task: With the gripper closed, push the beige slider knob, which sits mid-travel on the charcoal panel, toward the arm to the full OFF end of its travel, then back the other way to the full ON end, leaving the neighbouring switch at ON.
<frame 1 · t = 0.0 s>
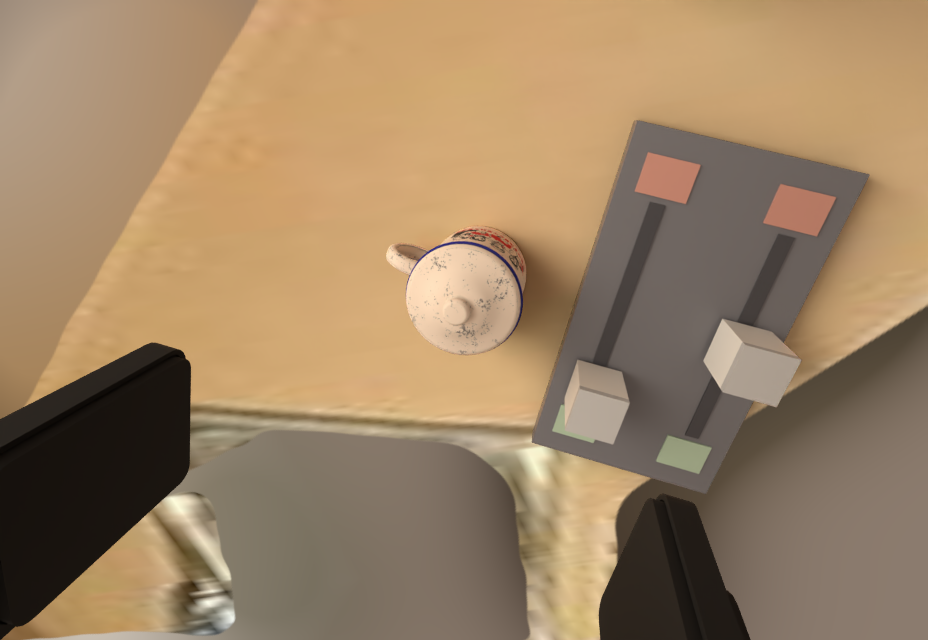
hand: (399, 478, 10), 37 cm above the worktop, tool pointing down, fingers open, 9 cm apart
panel: (670, 320, 45), on the worktop
teacup with lid: (465, 264, 47), on the worktop
on switch: (594, 400, 43), point 5 cm above the worktop, slide at 7.0 cm
beige slider knob: (748, 360, 40), point 5 cm above the worktop, slide at 0.0 cm
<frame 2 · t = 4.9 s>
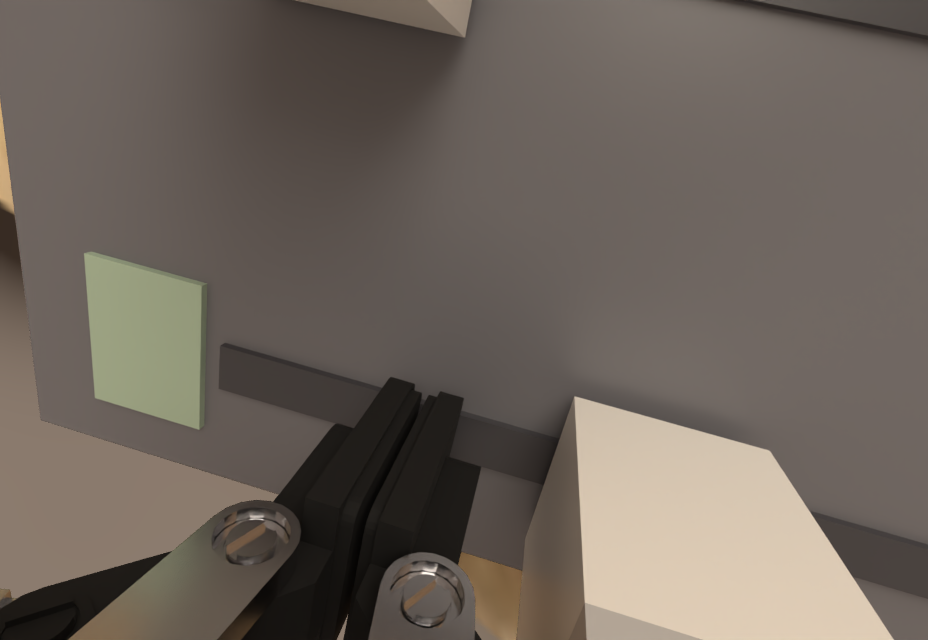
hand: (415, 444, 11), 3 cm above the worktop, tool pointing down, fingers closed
panel: (666, 248, 12), on the worktop
beige slider knob: (660, 609, 8), point 5 cm above the worktop, slide at -0.7 cm, touching gripper
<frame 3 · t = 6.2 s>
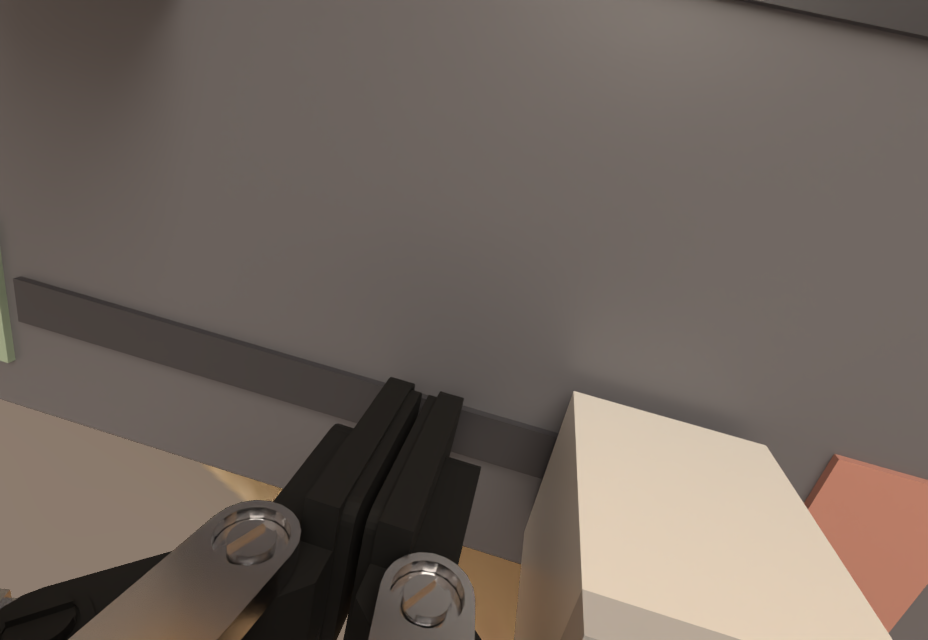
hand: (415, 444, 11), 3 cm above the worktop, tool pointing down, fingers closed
panel: (429, 185, 12), on the worktop
beige slider knob: (657, 600, 9), point 5 cm above the worktop, slide at -6.4 cm, touching gripper
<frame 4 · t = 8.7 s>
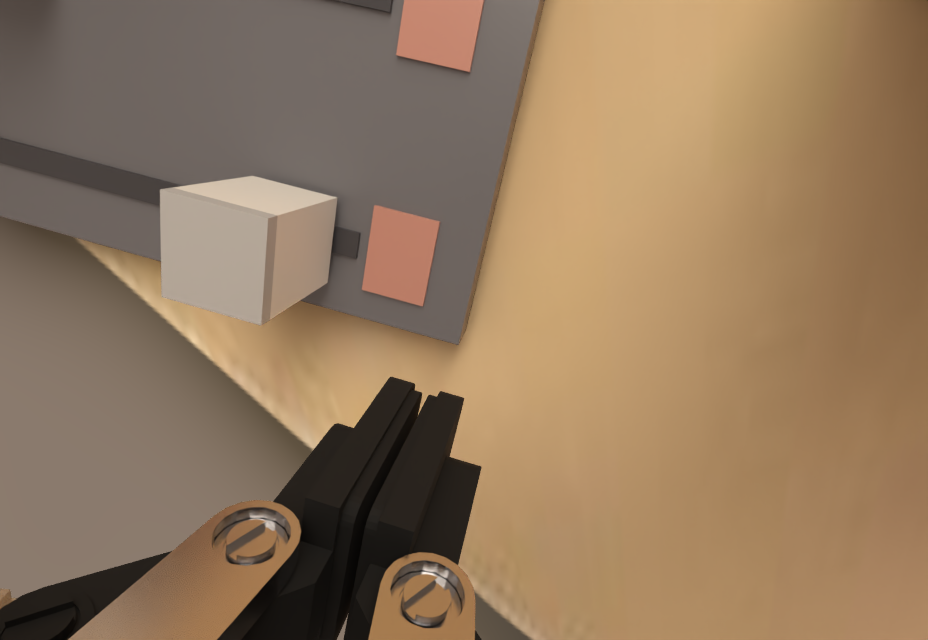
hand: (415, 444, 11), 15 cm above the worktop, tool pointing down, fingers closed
panel: (200, 85, 24), on the worktop
beige slider knob: (256, 243, 20), point 5 cm above the worktop, slide at -6.4 cm
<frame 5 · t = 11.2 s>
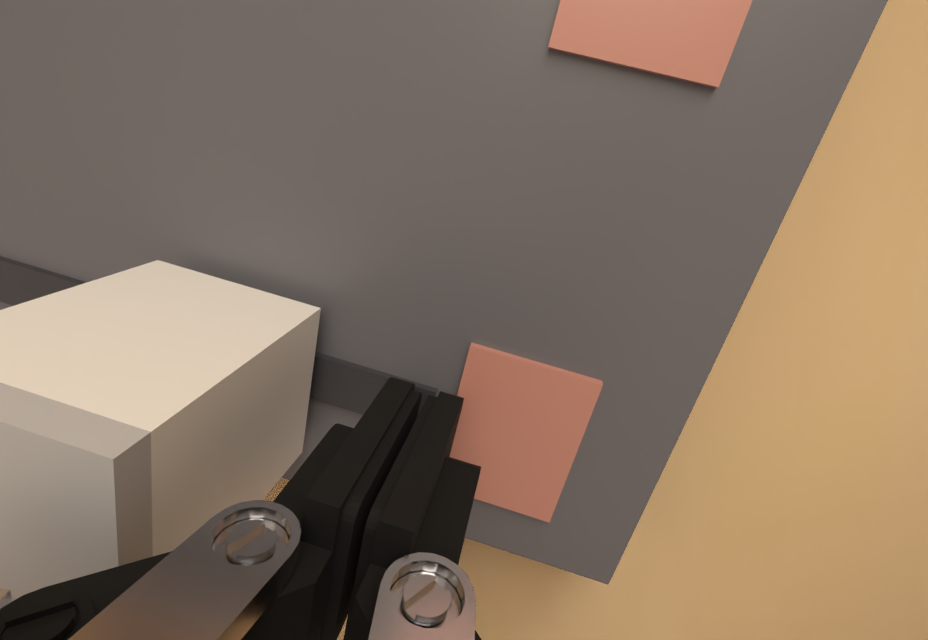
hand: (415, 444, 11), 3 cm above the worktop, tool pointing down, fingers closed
panel: (137, 99, 13), on the worktop
beige slider knob: (144, 422, 10), point 5 cm above the worktop, slide at -4.6 cm, touching gripper
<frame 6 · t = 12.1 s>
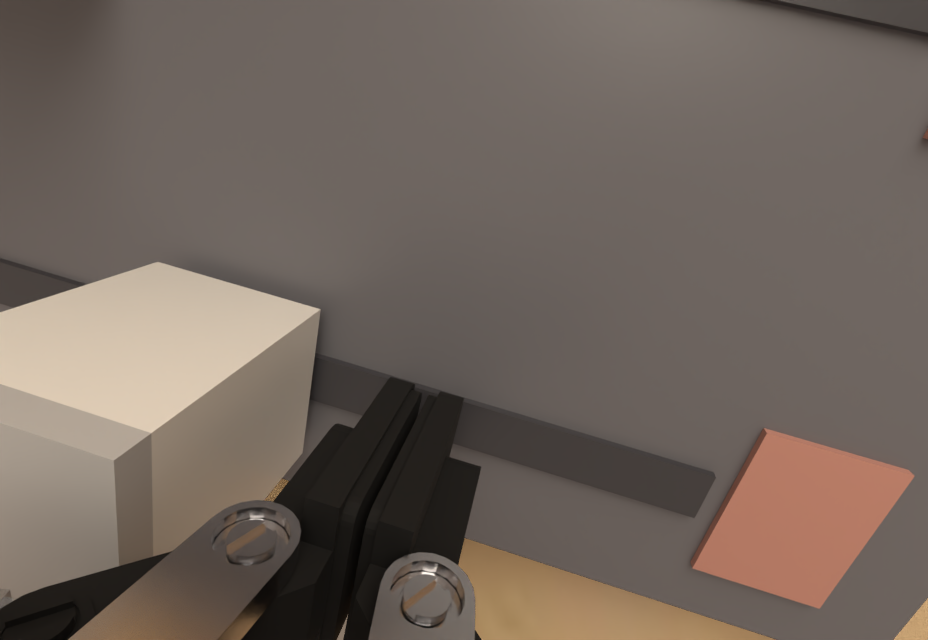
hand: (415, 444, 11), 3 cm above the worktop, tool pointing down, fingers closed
panel: (377, 164, 12), on the worktop
beige slider knob: (144, 424, 10), point 5 cm above the worktop, slide at 1.9 cm, touching gripper
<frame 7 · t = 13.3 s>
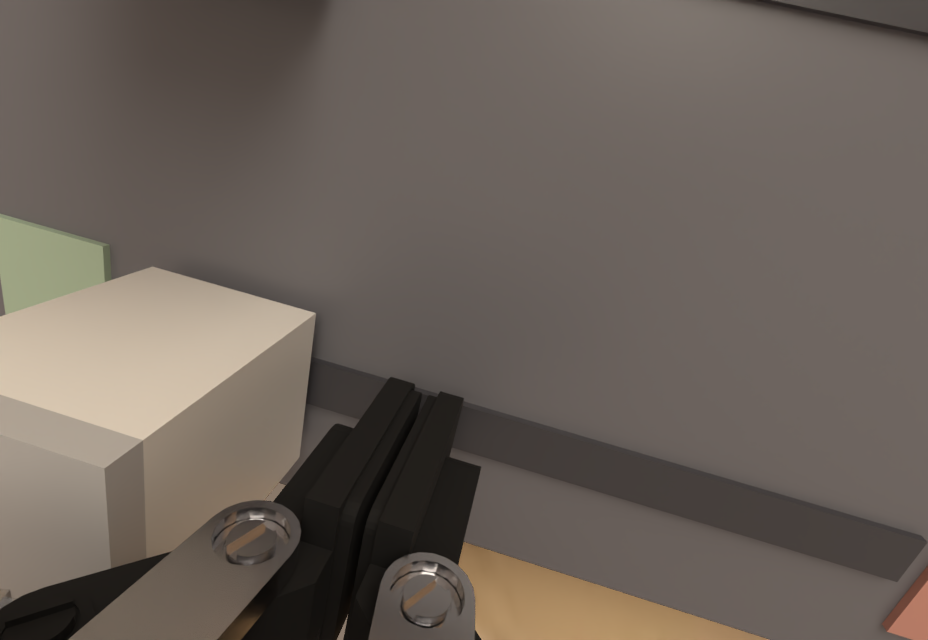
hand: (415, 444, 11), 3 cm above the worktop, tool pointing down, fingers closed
panel: (552, 213, 12), on the worktop
beige slider knob: (139, 429, 10), point 5 cm above the worktop, slide at 6.4 cm, touching gripper
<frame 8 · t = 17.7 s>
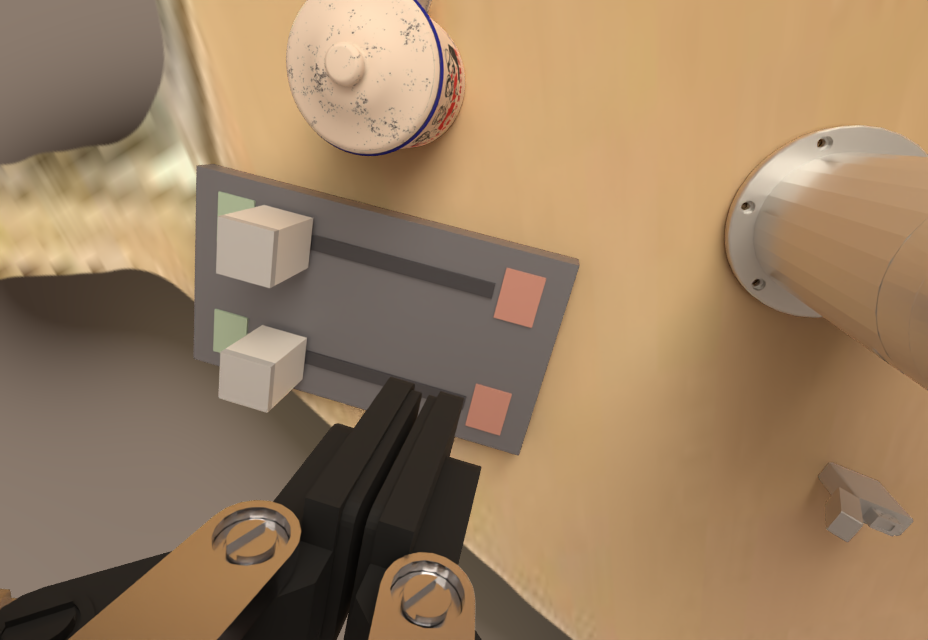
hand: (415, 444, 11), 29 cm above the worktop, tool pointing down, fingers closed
panel: (373, 309, 43), on the worktop
teacup with lid: (414, 63, 36), on the worktop
lighter: (828, 470, 40), on the worktop
on switch: (266, 244, 36), point 5 cm above the worktop, slide at 7.0 cm
beige slider knob: (264, 366, 40), point 5 cm above the worktop, slide at 6.5 cm
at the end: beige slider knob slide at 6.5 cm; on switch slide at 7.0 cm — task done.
